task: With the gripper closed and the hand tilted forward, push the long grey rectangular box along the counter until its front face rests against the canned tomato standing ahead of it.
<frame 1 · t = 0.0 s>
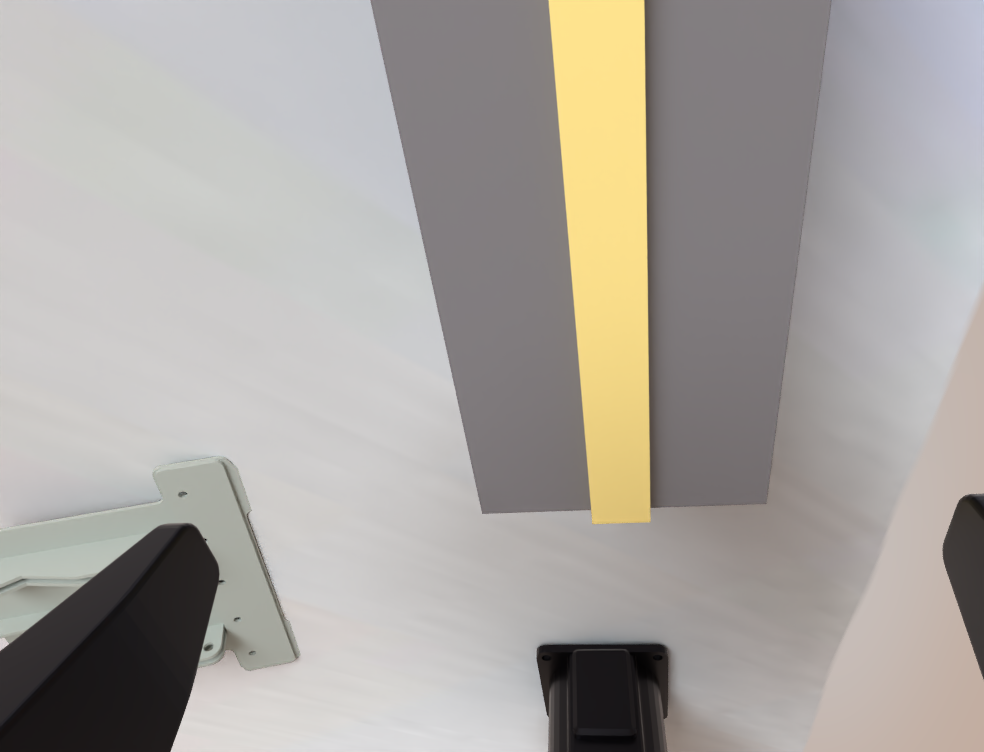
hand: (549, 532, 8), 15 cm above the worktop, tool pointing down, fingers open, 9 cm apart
grey rectangular box: (587, 56, 19), on the worktop
metal bracket: (152, 554, 34), on the worktop
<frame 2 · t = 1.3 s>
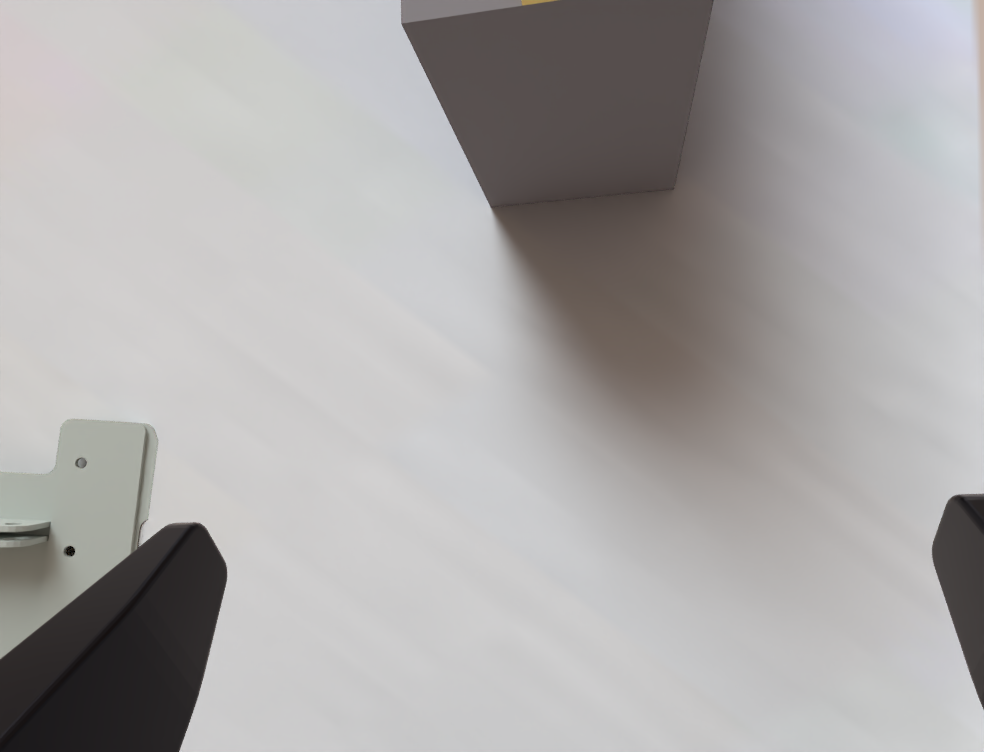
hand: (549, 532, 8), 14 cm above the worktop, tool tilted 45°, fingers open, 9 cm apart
grey rectangular box: (570, 5, 24), on the worktop
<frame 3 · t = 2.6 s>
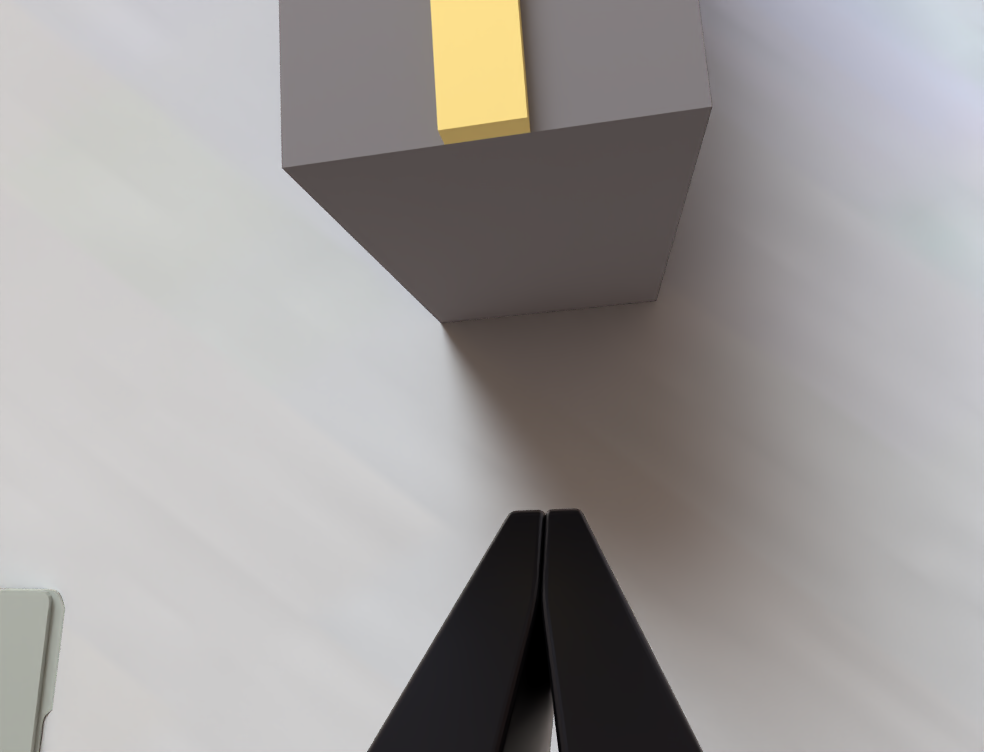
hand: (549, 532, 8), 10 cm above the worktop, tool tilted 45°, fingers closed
grey rectangular box: (527, 83, 20), on the worktop
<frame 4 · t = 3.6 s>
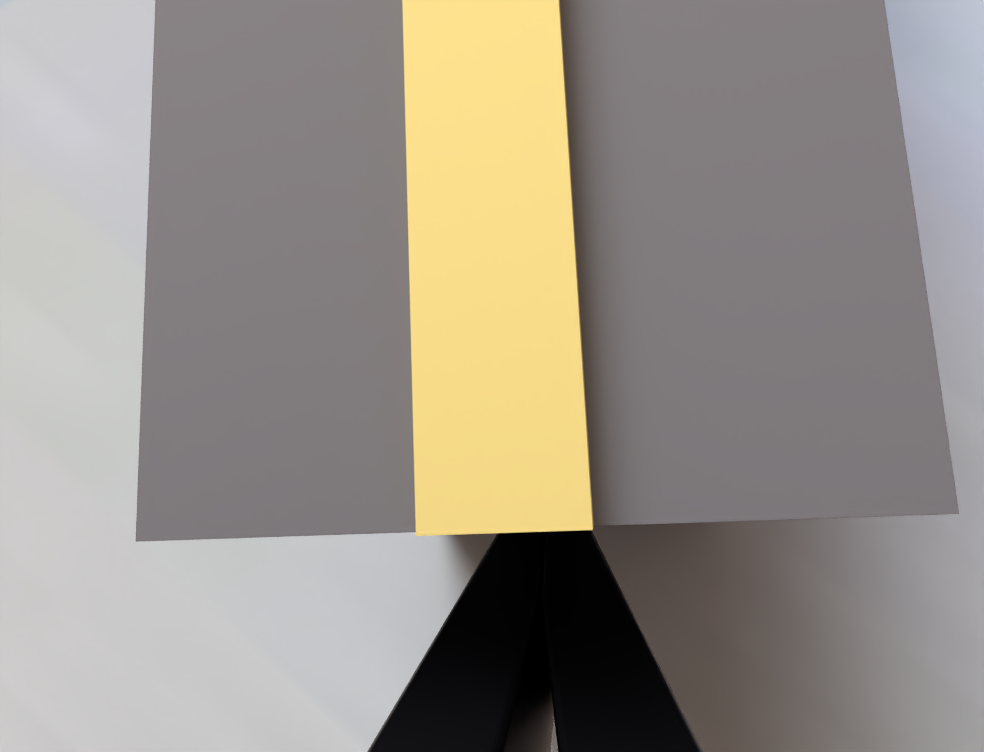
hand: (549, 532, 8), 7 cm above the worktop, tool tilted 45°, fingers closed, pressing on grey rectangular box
grey rectangular box: (553, 188, 16), on the worktop, touching gripper
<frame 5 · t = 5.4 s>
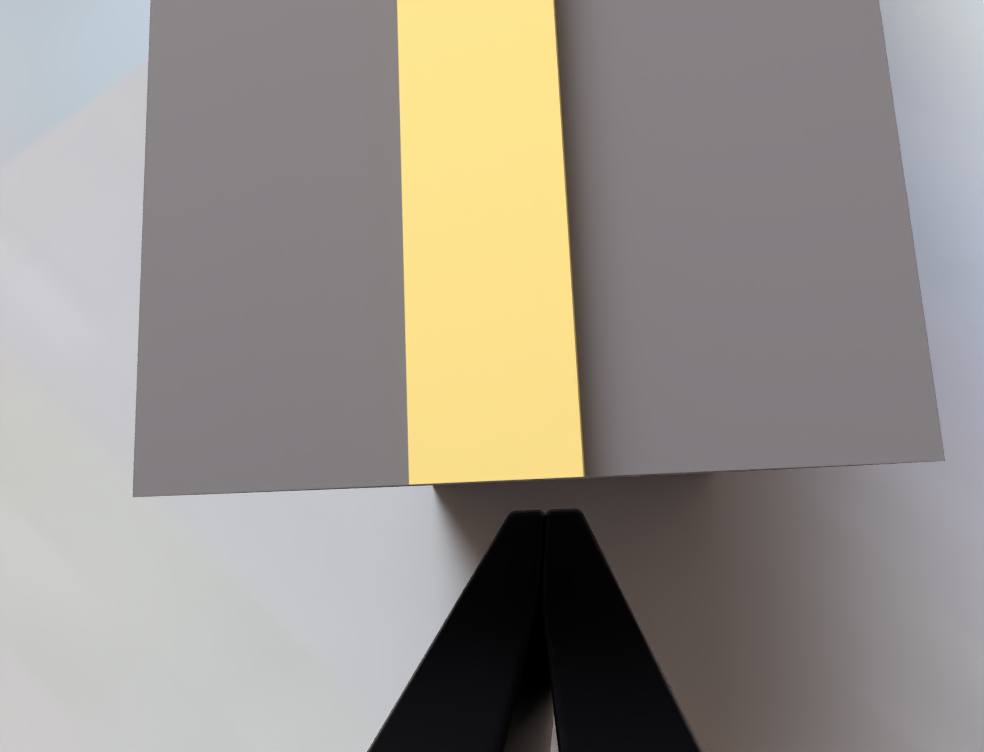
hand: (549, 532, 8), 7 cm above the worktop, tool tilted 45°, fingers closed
grey rectangular box: (550, 173, 16), on the worktop
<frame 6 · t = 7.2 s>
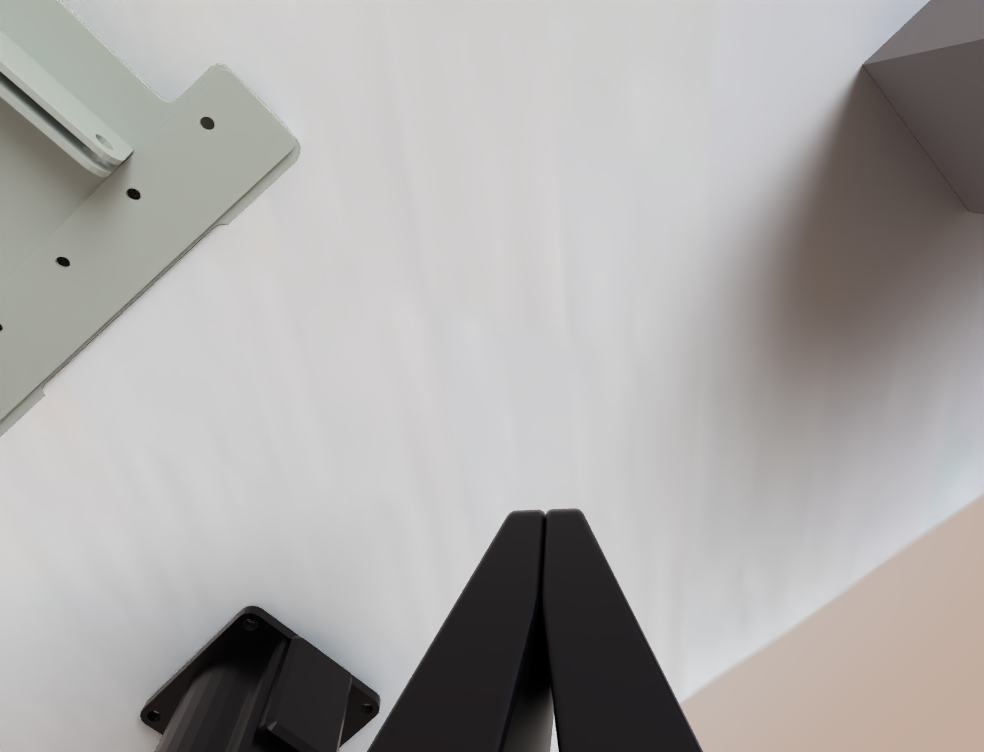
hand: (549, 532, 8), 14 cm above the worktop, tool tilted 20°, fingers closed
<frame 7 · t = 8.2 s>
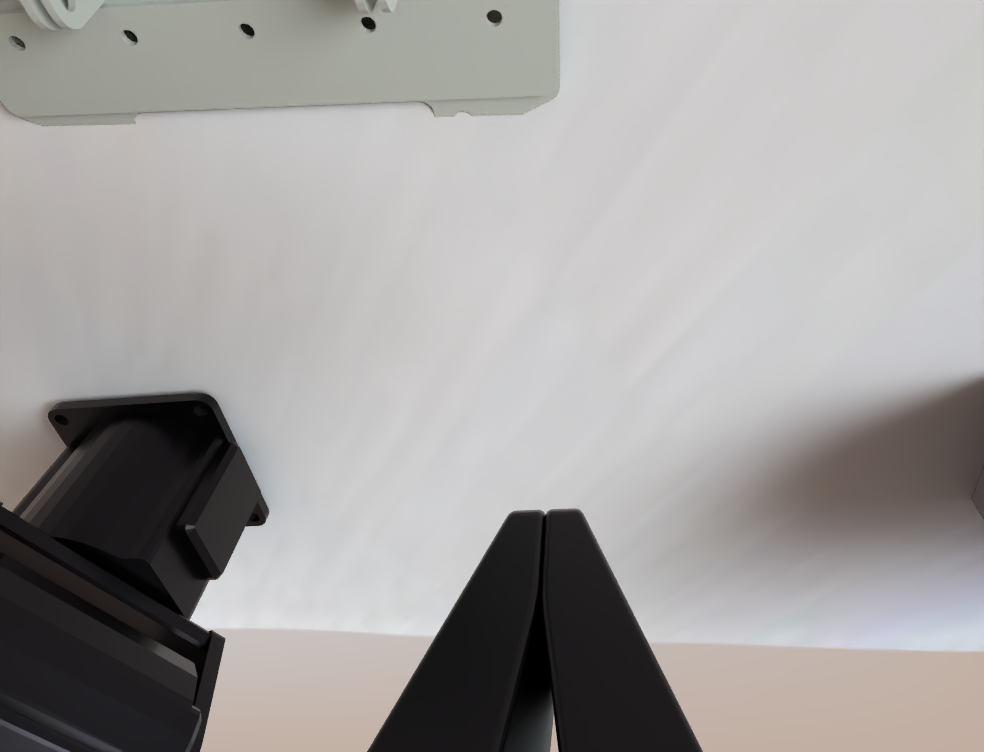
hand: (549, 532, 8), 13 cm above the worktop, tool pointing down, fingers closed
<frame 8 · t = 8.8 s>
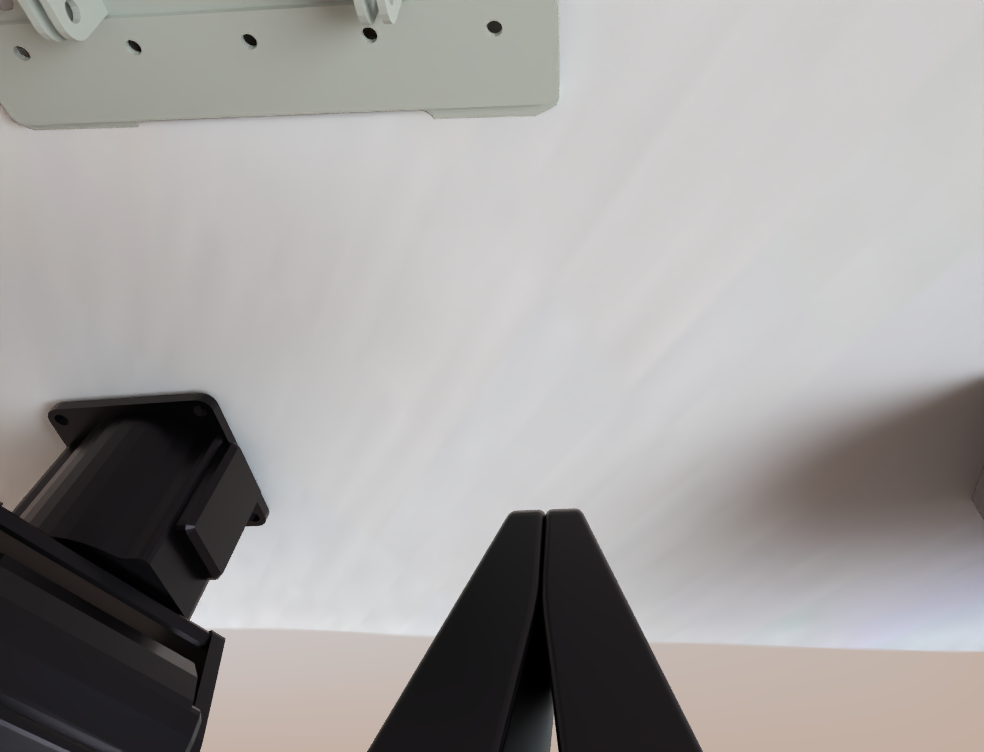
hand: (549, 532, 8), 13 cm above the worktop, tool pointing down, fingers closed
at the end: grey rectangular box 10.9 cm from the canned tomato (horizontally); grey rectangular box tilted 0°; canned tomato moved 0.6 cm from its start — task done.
